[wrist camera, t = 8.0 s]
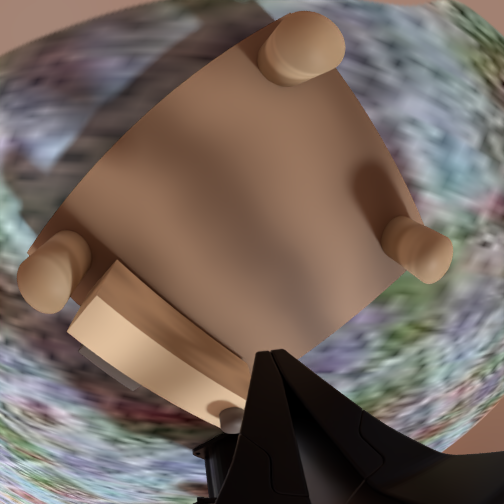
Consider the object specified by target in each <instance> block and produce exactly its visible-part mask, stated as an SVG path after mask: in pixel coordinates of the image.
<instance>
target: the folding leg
mask: <svg viewBox="0 0 504 504" xmlns="http://www.w3.org/2000/svg"><path fill="white" fill-rule="evenodd" d="M67 332H68V333H69V334H70V335H72V336H73V337H74V338H75V339H77V340H78V341H79V342H81V343H82V344H83V345H84V346H86V347H87V348H88V349H90V350H91V351H92V352H94V353H95V354H96V355H98V356H99V357H101V358H102V359H103V360H105V361H106V362H108V363H109V364H110V365H112V366H113V367H115V368H116V369H118V370H119V371H121V372H122V373H124V374H125V375H127V376H128V377H130V378H131V379H133V380H134V381H136V382H137V383H139V384H141V385H142V386H144V387H145V388H147V389H149V390H150V391H152V392H154V393H155V394H157V395H159V396H160V397H162V398H164V399H166V400H167V401H169V402H171V403H173V404H174V405H176V406H178V407H180V408H182V409H184V410H185V411H187V412H189V413H191V414H193V415H195V416H197V417H199V418H201V419H203V420H205V421H207V422H209V423H211V424H213V425H215V426H217V427H219V428H221V430H222V431H223V432H225V433H228V434H236V433H239V432H240V427H241V423H242V418H243V413H244V408H245V403H246V399H247V394H248V389H249V384H250V379H251V375H250V371H249V368H248V364H247V363H246V362H244V361H243V360H241V359H240V358H239V357H237V356H236V355H234V354H233V353H232V352H230V351H229V350H228V349H226V348H225V347H223V346H222V345H221V344H219V343H218V342H217V341H215V340H214V339H213V338H211V337H210V336H209V335H207V334H206V333H205V332H203V331H202V330H201V329H200V328H198V327H197V326H196V325H194V324H193V323H192V322H190V321H189V320H188V319H187V318H185V317H184V316H183V315H182V314H180V313H179V312H178V311H177V310H175V309H174V308H173V307H172V306H170V305H169V304H168V303H167V302H166V301H164V300H163V299H162V298H161V297H160V296H158V295H157V294H156V293H155V292H154V291H152V290H151V289H150V288H149V287H148V286H147V285H145V284H144V283H143V282H142V281H141V280H140V279H138V278H137V277H136V276H135V275H134V274H133V273H132V272H130V271H129V270H128V269H127V268H126V267H125V266H124V265H123V264H122V263H120V262H119V261H118V260H116V261H115V262H114V263H113V264H112V266H111V267H110V268H109V269H108V270H107V271H106V272H105V274H104V275H103V276H102V277H101V278H100V279H99V281H98V282H97V283H96V284H95V285H94V287H93V288H92V289H91V290H90V291H89V293H88V294H87V296H86V298H85V300H84V301H83V303H82V305H81V307H80V308H79V310H78V312H77V314H76V315H75V317H74V319H73V321H72V323H71V325H70V326H69V328H68V330H67Z"/></svg>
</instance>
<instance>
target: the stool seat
mask: <svg viewBox="0 0 504 504" xmlns="http://www.w3.org/2000/svg"><path fill="white" fill-rule="evenodd" d="M344 54H345V42H344V38H343V36H342V34H341V32H340V30H339V29H338V27H337V26H336V25H335V24H334V23H333V22H332V21H331V20H329V19H328V18H326V17H325V16H323V15H321V14H318V13H315V12H311V11H299V12H295V13H292V14H291V13H289V14H287V15H285V16H283V17H281V18H280V19H278V20H276V21H274V22H272V23H271V24H269V25H267V26H265V27H264V28H262V29H260V30H259V31H257V32H255V33H254V34H252V35H250V36H249V37H247V38H245V39H244V40H242V41H241V42H239V43H238V44H236V45H234V46H233V47H231V48H230V49H228V50H227V51H225V52H224V53H223V54H221V55H220V56H218V57H217V58H215V59H214V60H212V61H211V62H210V63H208V64H207V65H206V66H204V67H203V68H201V69H200V70H199V71H197V72H196V73H195V74H193V75H192V76H191V77H190V78H188V79H187V80H186V81H184V82H183V83H182V84H181V85H179V86H178V87H177V88H176V89H174V90H173V91H172V92H171V93H170V94H168V95H167V96H166V97H165V98H164V99H162V100H161V101H160V102H159V103H158V104H157V105H155V106H154V107H153V108H152V109H151V110H150V111H149V112H148V113H146V114H145V115H144V116H143V117H142V118H141V119H140V120H139V121H138V122H137V123H136V124H135V125H133V126H132V127H131V128H130V129H129V130H128V131H127V132H126V133H125V134H124V135H123V136H122V137H121V138H120V139H119V140H118V141H117V142H116V143H115V144H114V145H113V146H112V147H111V148H110V149H109V150H108V151H107V152H106V153H105V155H104V156H103V157H102V158H101V159H100V160H99V161H98V162H97V163H96V164H95V165H94V166H93V168H92V169H91V170H90V171H89V172H88V173H87V174H86V175H85V177H84V178H83V179H82V180H81V181H80V182H79V184H78V185H77V186H76V187H75V188H74V190H73V191H72V192H71V193H70V194H69V196H68V197H67V198H66V199H65V201H64V202H63V203H62V204H61V206H60V207H59V208H58V210H57V211H56V212H55V214H54V215H53V216H52V218H51V219H50V220H49V222H48V223H47V224H46V226H45V227H44V228H43V230H42V231H41V233H40V234H39V236H38V237H37V238H36V240H35V241H34V243H33V244H32V246H31V247H30V249H29V250H28V252H27V253H28V255H29V257H28V258H27V259H26V260H25V261H23V262H22V264H21V265H20V267H19V269H18V273H17V282H18V287H19V290H20V292H21V294H22V296H23V297H24V299H25V300H26V302H27V303H28V304H29V305H30V306H32V307H33V308H34V309H36V310H38V311H40V312H42V313H46V314H53V313H56V312H59V311H60V310H61V309H62V308H63V307H64V306H65V304H66V302H67V301H68V299H69V298H70V297H71V298H72V299H73V300H74V301H75V302H76V303H77V304H78V305H80V306H81V305H82V303H83V301H84V300H85V298H86V296H87V294H88V293H89V291H90V290H91V289H92V288H93V287H94V285H95V284H96V283H97V282H98V281H99V279H100V278H101V277H102V276H103V275H104V274H105V272H106V271H107V270H108V269H109V268H110V267H111V266H112V264H113V263H114V262H115V261H116V260H118V261H119V262H120V263H122V264H123V265H124V266H125V267H126V268H127V269H128V270H129V271H130V272H132V273H133V274H134V275H135V276H136V277H137V278H138V279H140V280H141V281H142V282H143V283H144V284H145V285H147V286H148V287H149V288H150V289H151V290H152V291H154V292H155V293H156V294H157V295H158V296H160V297H161V298H162V299H163V300H164V301H166V302H167V303H168V304H169V305H170V306H172V307H173V308H174V309H175V310H177V311H178V312H179V313H180V314H182V315H183V316H184V317H185V318H187V319H188V320H189V321H190V322H192V323H193V324H194V325H196V326H197V327H198V328H200V329H201V330H202V331H203V332H205V333H206V334H207V335H209V336H210V337H211V338H213V339H214V340H215V341H217V342H218V343H219V344H221V345H222V346H223V347H225V348H226V349H228V350H229V351H230V352H232V353H233V354H234V355H236V356H237V357H239V358H240V359H241V360H243V361H244V362H246V363H247V364H248V368H249V371H250V375H251V374H252V369H253V364H254V359H255V354H256V352H258V351H266V350H268V351H271V350H275V349H285V350H286V351H287V352H288V353H290V354H291V355H292V356H293V357H295V358H296V359H297V360H298V359H299V358H300V357H302V356H303V355H305V354H306V353H307V352H309V351H310V350H311V349H313V348H314V347H316V346H317V345H318V344H320V343H321V342H322V341H323V340H325V339H326V338H327V337H329V336H330V335H331V334H333V333H334V332H335V331H336V330H338V329H339V328H340V327H341V326H343V325H344V324H345V323H346V322H348V321H349V320H350V319H351V318H353V317H354V316H355V315H356V314H358V313H359V312H360V311H361V310H362V309H364V308H365V307H366V306H367V305H368V304H369V303H371V302H372V301H373V300H374V299H375V298H376V297H378V296H379V295H380V294H381V293H382V292H383V291H384V290H386V289H387V288H388V287H389V286H390V285H391V284H392V283H393V282H395V281H396V280H397V279H398V278H399V277H400V276H401V275H402V274H403V273H404V272H405V271H406V270H408V271H409V272H410V273H412V274H413V275H414V276H416V277H417V278H418V279H420V280H421V281H422V282H424V283H426V284H431V283H434V282H436V281H438V280H439V279H440V278H441V277H442V276H443V275H444V274H445V273H446V271H447V270H448V268H449V266H450V264H451V261H452V256H453V246H452V243H451V241H450V239H449V238H448V237H446V236H444V235H442V234H440V233H438V232H436V231H434V230H432V229H430V228H428V227H426V226H424V224H423V222H422V219H421V217H420V214H419V212H418V210H417V208H416V205H415V203H414V201H413V199H412V197H411V194H410V192H409V190H408V188H407V186H406V184H405V182H404V180H403V178H402V176H401V174H400V172H399V170H398V168H397V166H396V164H395V162H394V160H393V158H392V157H391V155H390V153H389V151H388V149H387V147H386V146H385V144H384V142H383V140H382V138H381V137H380V135H379V133H378V132H377V130H376V128H375V127H374V125H373V123H372V122H371V120H370V118H369V117H368V115H367V113H366V112H365V110H364V109H363V107H362V106H361V104H360V102H359V101H358V99H357V98H356V96H355V95H354V93H353V92H352V90H351V89H350V87H349V86H348V85H347V83H346V82H345V80H344V79H343V77H342V76H341V75H340V73H339V72H338V71H337V69H336V68H335V67H337V66H338V65H339V64H340V62H341V61H342V59H343V57H344ZM78 352H79V353H80V354H82V355H83V356H84V357H85V358H87V359H88V360H89V361H91V362H92V363H93V364H95V365H96V366H97V367H99V368H100V369H101V370H103V371H104V372H105V373H107V374H108V375H110V376H111V377H112V378H114V379H115V380H117V381H118V382H120V383H121V384H123V385H124V386H126V387H127V388H129V389H130V390H132V391H134V390H136V389H137V388H139V387H140V386H141V384H139V383H137V382H136V381H134V380H133V379H131V378H130V377H128V376H127V375H125V374H124V373H122V372H121V371H119V370H118V369H116V368H115V367H113V366H112V365H110V364H109V363H108V362H106V361H105V360H103V359H102V358H101V357H99V356H98V355H96V354H95V353H94V352H92V351H91V350H90V349H88V348H87V347H86V346H84V345H83V344H81V346H80V349H79V351H78Z"/></svg>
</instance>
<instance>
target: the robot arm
mask: <svg viewBox="0 0 504 504" xmlns="http://www.w3.org/2000/svg"><path fill="white" fill-rule="evenodd" d="M192 451H193V455H195V456H197V457H199V458H202V459H204V460H205V467H206V476H207V485H208V493H209V498H204V497H197V502H196V503H193V504H504V451H500V452H491V453H480V454H467V455H450V454H445V453H441V452H438V451H436V450H433V449H431V448H429V447H427V446H425V445H423V444H421V443H419V442H417V441H415V440H413V439H411V438H409V437H407V436H405V435H403V434H402V433H400V432H398V431H396V430H394V429H393V428H391V427H389V426H387V425H386V424H384V423H383V422H381V421H380V420H378V419H377V418H375V417H374V416H372V415H371V414H369V413H368V412H367V411H365V410H363V411H362V408H361V407H359V406H358V405H357V404H355V403H354V402H353V401H351V400H350V399H349V398H347V397H346V396H344V395H343V394H342V393H340V392H339V391H338V390H336V389H335V388H334V387H332V386H331V385H330V384H328V383H327V382H326V381H324V380H323V379H322V378H321V377H319V376H318V375H317V374H315V373H314V372H313V371H311V370H310V369H309V368H308V367H306V366H305V365H304V364H302V363H301V362H300V361H299V360H297V359H296V358H295V357H293V356H292V355H291V354H290V353H288V352H287V351H286V350H285V349H275V350H271V351H268V350H266V351H258V352H256V354H255V359H254V364H253V369H252V374H251V379H250V384H249V389H248V394H247V399H246V403H245V408H244V413H243V418H242V423H241V427H240V432H239V433H236V434H228V433H224V434H222V435H221V436H219V437H217V438H215V439H213V440H211V441H209V442H207V443H205V444H203V445H201V446H199V447H197V448H194V449H193V450H192Z"/></svg>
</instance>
